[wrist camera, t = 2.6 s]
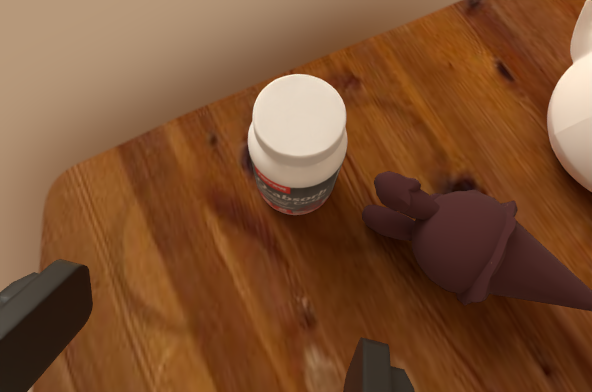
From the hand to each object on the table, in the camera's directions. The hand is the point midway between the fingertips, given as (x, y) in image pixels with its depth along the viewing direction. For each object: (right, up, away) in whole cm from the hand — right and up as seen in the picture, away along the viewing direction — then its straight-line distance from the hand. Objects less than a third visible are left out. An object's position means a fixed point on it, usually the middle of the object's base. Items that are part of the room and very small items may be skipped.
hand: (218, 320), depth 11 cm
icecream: (+13, -1, +16) cm, 21 cm away
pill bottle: (+2, +5, +18) cm, 18 cm away
